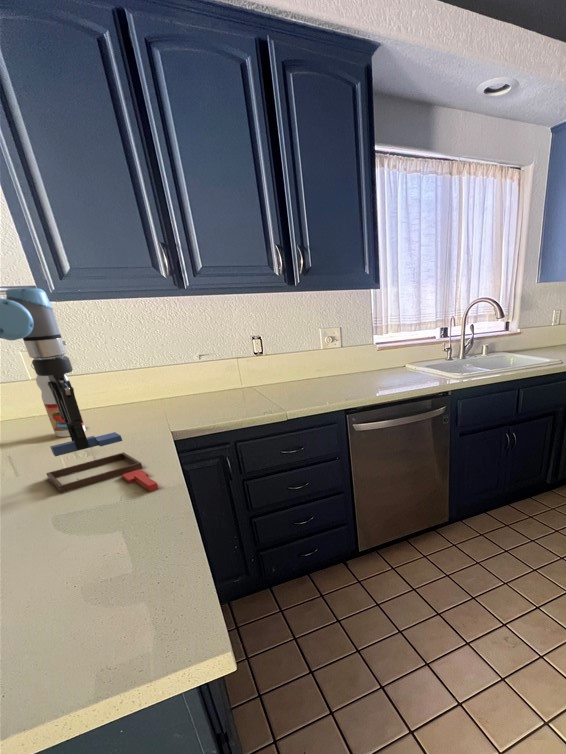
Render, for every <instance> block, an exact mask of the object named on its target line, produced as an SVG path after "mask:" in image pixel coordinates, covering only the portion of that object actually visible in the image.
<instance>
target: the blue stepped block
mask: <svg viewBox="0 0 566 754" xmlns="http://www.w3.org/2000/svg"><path fill="white" fill-rule="evenodd" d="M86 438H87V441H88V444H89V448H85V449H81V450H77V447H76V444H75V442H74V441H72V440H71V441H67V442H62V443H58V444H53V445H51V446H50V450H51V452H52V455H53V456H54V457H59V456H63V455H67V454H71V453H75V452H79V451H83V450H87V449H91V448H94V447H98V446H99V447H101V448H102V447H105V446H108V445H113V444H116V443H120V442H123V438H122V435H121V434H119V433H117V432H116V431H115V432H114V431H113V432H110V433H106V434H102V435H98V436H95V435H91V436H86Z"/></svg>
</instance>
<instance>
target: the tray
mask: <svg viewBox="0 0 566 754" xmlns="http://www.w3.org/2000/svg"><path fill="white" fill-rule="evenodd" d="M121 460H124V461H126V462H127V463H129V465H126V466H122V467H119V468H115V469H112V470H108V471H105V472H102V473H97V474H95V475H91V476H88V477H85V478H80V479H77V480H74V481H71V482H67V483H64V484H62V483H61V482H60V481H59V480H58V479H57V478H60V477H64V476H67V475H71V474H75V473H77V472H78V473H79V472H82V471H85V470H89V469H92V468H97V467H100V466H104V465H108V464H110V463H115V462H118V461H121ZM139 469H140V470H143V465H142V462H140V461H139V460H138V459H135V458H134V457H133V456H130V455H129V454H127V453H126V452H120V453H116V454H113V455H109V456H105V457H102V458H97V459H94V460H90V461H86V462H82V463H80V464H75V465H71V466H68V467H63V468H60V469H57V470H52V471H49V472H46V473H45V474H46V476H47V479H48V480H49V482H51V483H52V484H53V485H54V487H56V488H57V490H59V491H60V493H61V494H62V493H63V494H64V493H67V492H70V491H72V490H75V489H76V490H77V489H80V488H83V487H86V486H89V485H93V484H96V483H99V482H100V483H101V482H102V481H107V480H110V479H113V478H116V477H119V476H122V474H125V473H129V472H132V471H135V470H139Z"/></svg>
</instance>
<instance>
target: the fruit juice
mask: <svg viewBox="0 0 566 754" xmlns="http://www.w3.org/2000/svg"><path fill="white" fill-rule="evenodd" d="M64 376H65V378H66V380H69V377H68V376H67V375H66V373H65V374H64ZM35 382H36V385H37V387H38V388H39V390H40V391H41V392H40V393H41V395H40V396H41V400H42V403H43V406H44V408H45V411H46V414H47V416H48V419H49V421H50V424H51V427H52V429H53V433H54V434H55V436H56V437H59V438H67V437H70V434H69V431H68V428H67V426H66V424H68V423H65V422H64V420H63V419H62V418H61V414H60V412H59V409H58V407H57V404H56V402H55V399H54V397H53V394H52V392H51V390H50V388H49V386H48V382H50V380H49V377H48V376H39V375H37V374H36V378H35ZM80 414H81V412H80ZM81 417H82V420H83V416H82V414H81ZM82 427H83V429H84V432H86V426H85V422H84V420H83V423H82Z"/></svg>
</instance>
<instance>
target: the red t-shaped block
mask: <svg viewBox="0 0 566 754" xmlns="http://www.w3.org/2000/svg"><path fill="white" fill-rule="evenodd" d="M121 477H122V479H124V480H125V481H126V482H128V483H129V484H132V483H135V482H136V483H137V484H139V485H140V486H142V487H143V488H144V489H146V490H147V491H149V492H153V491H154V492H155V491H157V490H159V485H158V483H157V482H156V481H154V480H153V479H151V478H150V477H149V474H148V473H147V472H146V471H144V470H143V469H139V470H135V471H132V472H129V473H125V474H122V475H121Z"/></svg>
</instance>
